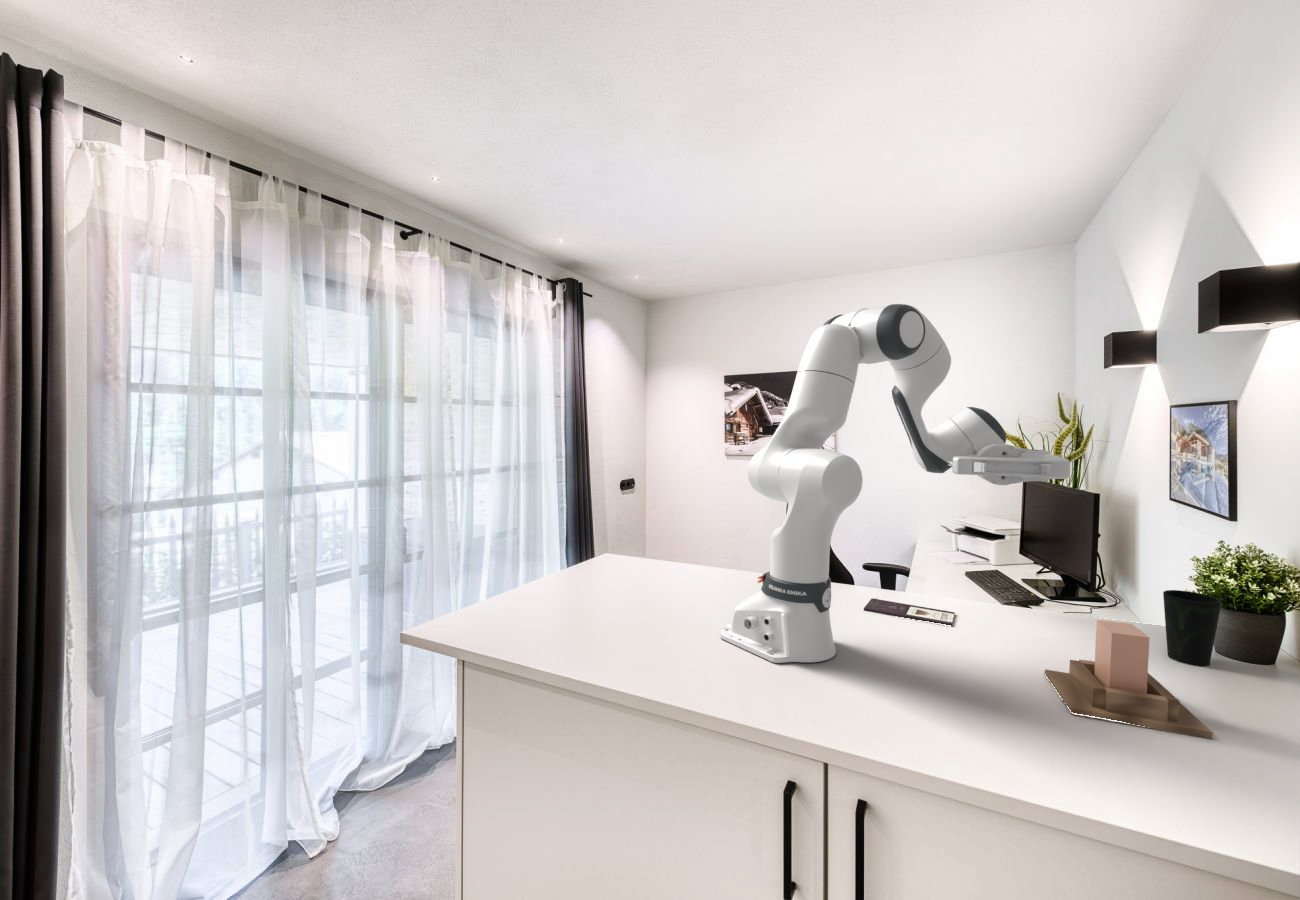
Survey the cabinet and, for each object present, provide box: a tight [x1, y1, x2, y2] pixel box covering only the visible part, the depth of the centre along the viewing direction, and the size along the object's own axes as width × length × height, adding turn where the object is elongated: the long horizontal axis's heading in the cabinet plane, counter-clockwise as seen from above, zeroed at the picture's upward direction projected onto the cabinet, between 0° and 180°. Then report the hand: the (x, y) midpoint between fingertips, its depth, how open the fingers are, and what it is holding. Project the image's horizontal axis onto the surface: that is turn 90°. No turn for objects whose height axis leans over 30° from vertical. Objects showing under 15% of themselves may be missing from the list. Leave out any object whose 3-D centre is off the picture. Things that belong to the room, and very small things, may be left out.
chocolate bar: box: [863, 597, 956, 626], centre depth 125 cm, size 9×1×18 cm
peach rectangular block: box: [1094, 619, 1150, 694], centre depth 84 cm, size 4×6×11 cm
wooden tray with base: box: [1044, 659, 1214, 740], centre depth 85 cm, size 16×14×4 cm
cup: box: [1162, 589, 1223, 667], centre depth 100 cm, size 8×8×12 cm
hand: (1016, 469), depth 105 cm, fingers open, 8 cm apart
